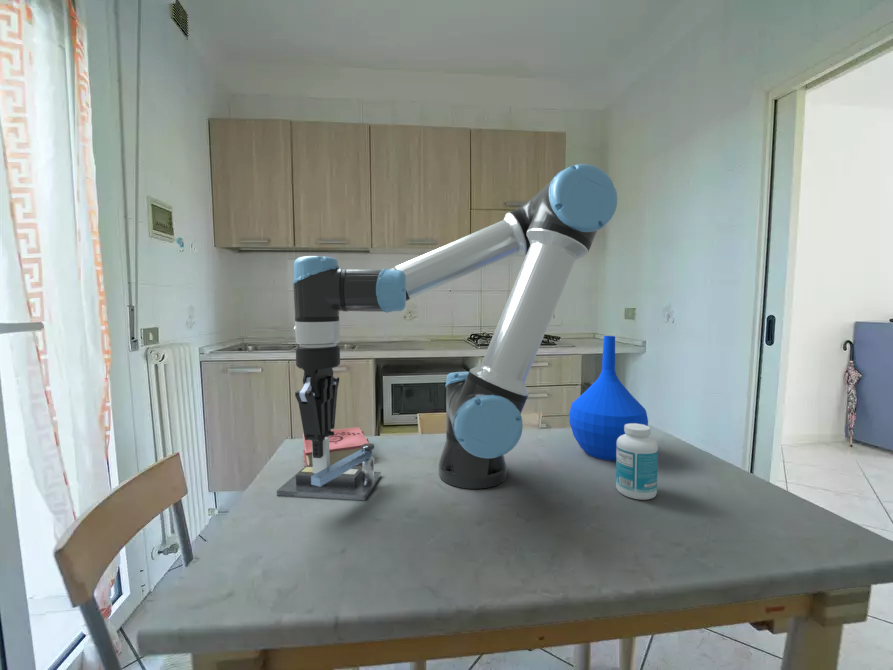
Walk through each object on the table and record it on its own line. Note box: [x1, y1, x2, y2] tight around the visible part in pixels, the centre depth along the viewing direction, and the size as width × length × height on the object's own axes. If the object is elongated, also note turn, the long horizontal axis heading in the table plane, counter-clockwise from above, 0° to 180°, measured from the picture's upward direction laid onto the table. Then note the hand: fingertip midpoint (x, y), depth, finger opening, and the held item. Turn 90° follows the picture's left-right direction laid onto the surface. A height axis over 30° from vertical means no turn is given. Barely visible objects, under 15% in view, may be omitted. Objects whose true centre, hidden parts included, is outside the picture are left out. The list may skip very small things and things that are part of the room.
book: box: [302, 426, 370, 468], centre depth 99 cm, size 14×15×5 cm
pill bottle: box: [615, 423, 659, 501], centre depth 79 cm, size 8×7×14 cm
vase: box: [568, 335, 649, 462], centre depth 99 cm, size 18×18×30 cm
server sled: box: [276, 455, 382, 501], centre depth 83 cm, size 18×11×6 cm, turn 83°
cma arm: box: [311, 442, 375, 487], centre depth 75 cm, size 16×3×2 cm, turn 155°
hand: (321, 472), depth 73 cm, fingers closed
